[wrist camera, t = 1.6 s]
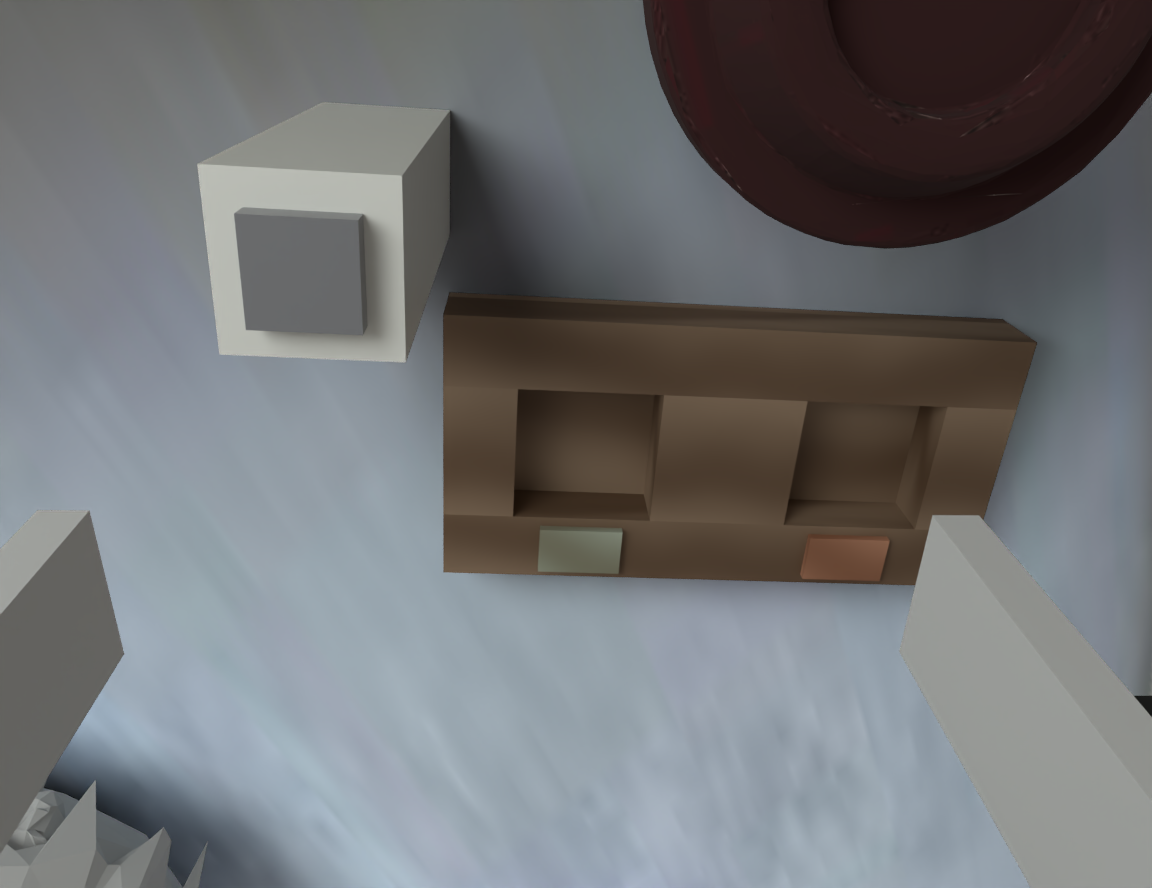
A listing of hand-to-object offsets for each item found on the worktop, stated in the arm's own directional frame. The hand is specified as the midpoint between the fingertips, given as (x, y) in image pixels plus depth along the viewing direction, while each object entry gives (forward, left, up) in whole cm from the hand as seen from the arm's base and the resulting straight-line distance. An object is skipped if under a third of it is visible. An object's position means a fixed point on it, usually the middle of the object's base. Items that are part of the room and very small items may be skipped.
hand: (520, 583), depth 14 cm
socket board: (+6, +7, -19) cm, 21 cm away
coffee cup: (-9, +7, -19) cm, 22 cm away
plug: (-3, -5, -19) cm, 20 cm away
